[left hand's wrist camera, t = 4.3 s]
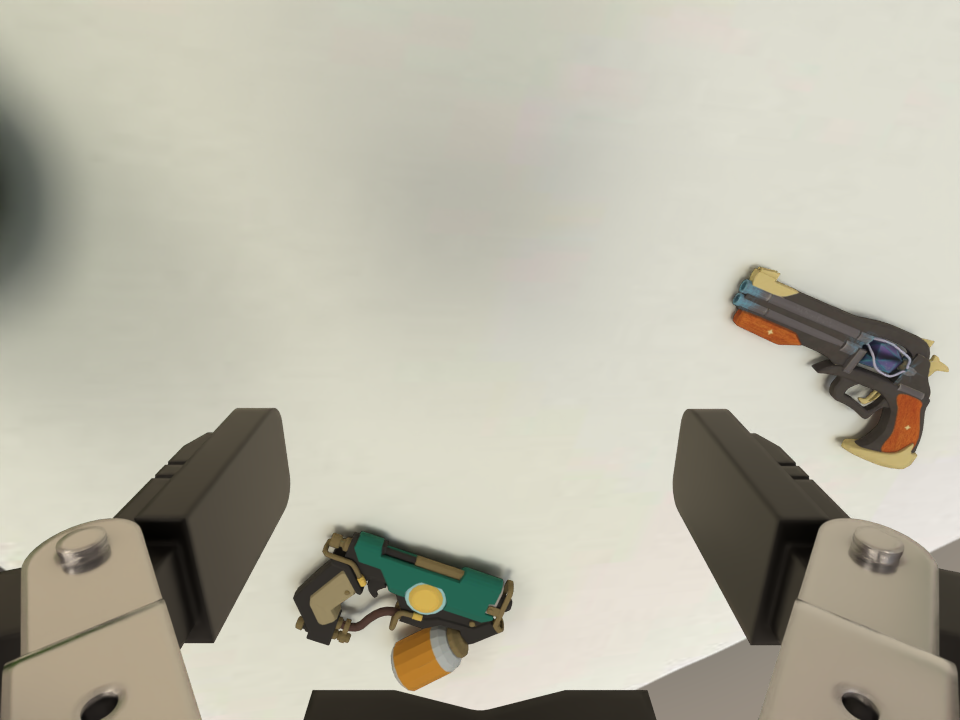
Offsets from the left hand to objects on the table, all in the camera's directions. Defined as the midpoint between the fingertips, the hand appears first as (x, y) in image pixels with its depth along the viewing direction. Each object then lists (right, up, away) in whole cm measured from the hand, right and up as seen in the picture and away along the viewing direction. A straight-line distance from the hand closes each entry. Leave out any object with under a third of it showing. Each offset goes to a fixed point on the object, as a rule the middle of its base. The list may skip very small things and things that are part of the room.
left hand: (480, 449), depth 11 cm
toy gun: (+26, +1, +31) cm, 40 cm away
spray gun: (-7, -18, +38) cm, 43 cm away
